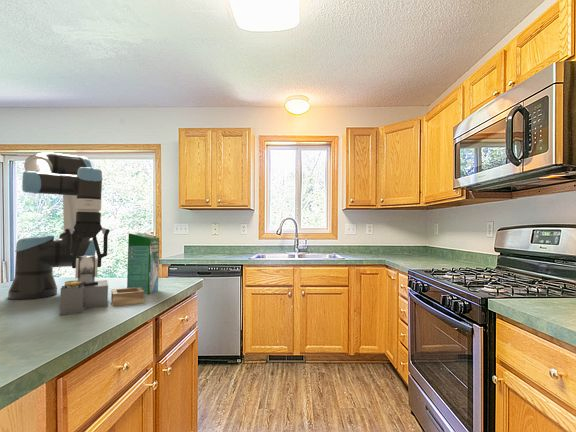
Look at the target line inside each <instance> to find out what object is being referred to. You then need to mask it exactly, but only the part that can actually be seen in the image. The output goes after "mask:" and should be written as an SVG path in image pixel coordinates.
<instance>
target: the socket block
mask: <svg viewBox="0 0 576 432" xmlns="http://www.w3.org/2000/svg"><path fill="white" fill-rule="evenodd" d="M108 295H109V284H108V280H107V279H103V280H95V282H94V285H92V286H84V285H79V287H76V288H67V285H65V284H64V285H62V286H61V288H60V298H59V301H60V302H59V316H65V315H74V314H83V313H84V309H93V308H101V307H108V300H109V296H108Z"/></svg>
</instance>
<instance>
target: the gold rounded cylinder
mask: <svg viewBox="0 0 576 432" xmlns="http://www.w3.org/2000/svg"><path fill="white" fill-rule="evenodd" d="M79 284H81V281H78V280H68V281H64V285H67V288H76V287H79Z"/></svg>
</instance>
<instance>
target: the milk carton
mask: <svg viewBox="0 0 576 432" xmlns="http://www.w3.org/2000/svg"><path fill="white" fill-rule="evenodd" d="M127 244H128V245H127V246H128V247H127V273H126V274H127V277H126V278H127V281H126V282H127V283H126V288H135V287H141V288H142V289H143V291H144V296H145V295H150V294H153V293H155V292H157V291H159V270H160V269H159V267H160V265H159V263H160V262H159V261H160V237H158V236H157V237H156V236H155V235H154V234H153V233H150V232H144V233H142V232H128V242H127Z"/></svg>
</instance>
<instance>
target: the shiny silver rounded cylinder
mask: <svg viewBox="0 0 576 432" xmlns="http://www.w3.org/2000/svg"><path fill="white" fill-rule="evenodd" d="M95 258H96V256H79V266H78V278H77V281H81V284H79V285H84V286H92V285H94V282H95V281H96V280H95V279H96V277H95Z"/></svg>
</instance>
